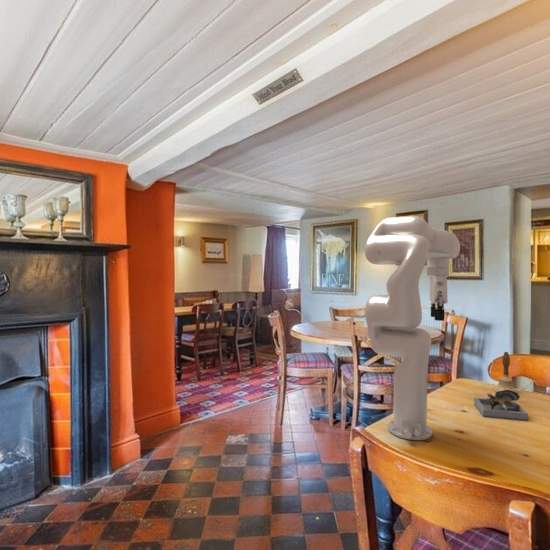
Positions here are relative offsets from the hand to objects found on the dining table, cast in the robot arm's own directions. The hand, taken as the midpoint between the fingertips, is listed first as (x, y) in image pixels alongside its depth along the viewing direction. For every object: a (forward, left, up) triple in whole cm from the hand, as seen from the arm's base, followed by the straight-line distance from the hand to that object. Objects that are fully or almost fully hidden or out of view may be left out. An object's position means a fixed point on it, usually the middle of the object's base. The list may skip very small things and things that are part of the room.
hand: (437, 318), depth 142 cm
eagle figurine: (-8, -21, -29) cm, 37 cm away
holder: (-8, -19, -30) cm, 37 cm away
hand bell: (+16, -28, -31) cm, 44 cm away
